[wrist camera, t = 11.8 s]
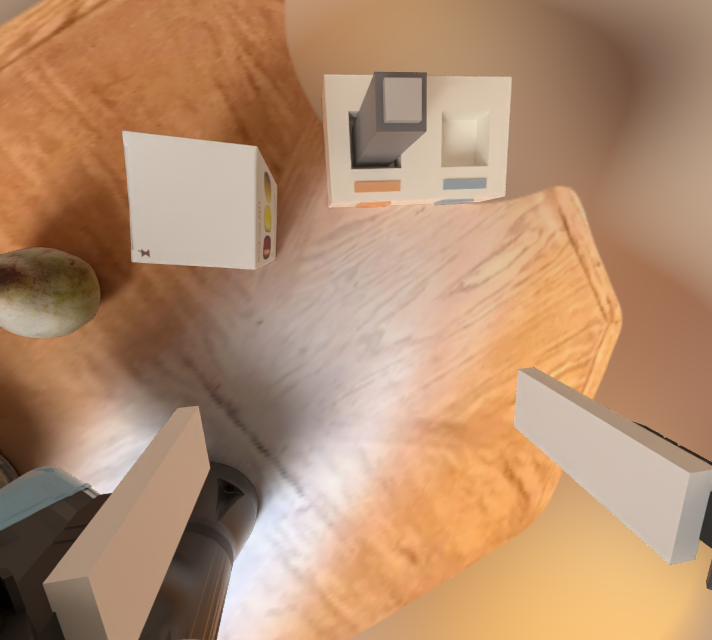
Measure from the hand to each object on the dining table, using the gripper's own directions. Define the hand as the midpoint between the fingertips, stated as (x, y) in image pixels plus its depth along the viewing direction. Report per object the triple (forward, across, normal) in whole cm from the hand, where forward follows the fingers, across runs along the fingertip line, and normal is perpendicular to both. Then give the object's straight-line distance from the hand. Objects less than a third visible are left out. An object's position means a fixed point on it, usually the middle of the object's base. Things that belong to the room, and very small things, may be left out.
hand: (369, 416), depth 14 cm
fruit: (+32, -30, +3) cm, 44 cm away
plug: (+28, +6, +17) cm, 34 cm away
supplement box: (+32, -10, +10) cm, 35 cm away
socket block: (+31, +11, +17) cm, 37 cm away
